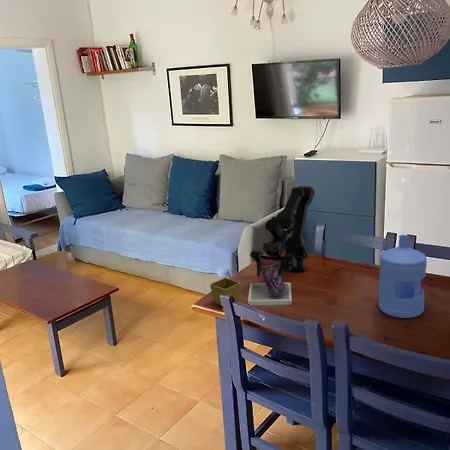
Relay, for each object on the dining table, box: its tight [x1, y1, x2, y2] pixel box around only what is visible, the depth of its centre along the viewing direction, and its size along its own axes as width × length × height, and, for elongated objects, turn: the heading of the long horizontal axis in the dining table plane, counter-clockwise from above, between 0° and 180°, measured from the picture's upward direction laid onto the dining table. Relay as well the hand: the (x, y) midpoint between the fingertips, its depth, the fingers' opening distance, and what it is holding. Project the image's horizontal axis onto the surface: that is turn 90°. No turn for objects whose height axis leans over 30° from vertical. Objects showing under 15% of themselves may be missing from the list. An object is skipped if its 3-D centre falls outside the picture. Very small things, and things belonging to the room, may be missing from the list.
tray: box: [247, 282, 293, 306], centre depth 190 cm, size 17×17×2 cm
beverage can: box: [261, 261, 286, 295], centre depth 187 cm, size 7×7×12 cm
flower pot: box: [209, 277, 241, 306], centre depth 184 cm, size 9×9×9 cm
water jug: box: [378, 234, 428, 319], centre depth 168 cm, size 16×16×28 cm
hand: (267, 277), depth 186 cm, fingers open, 8 cm apart
